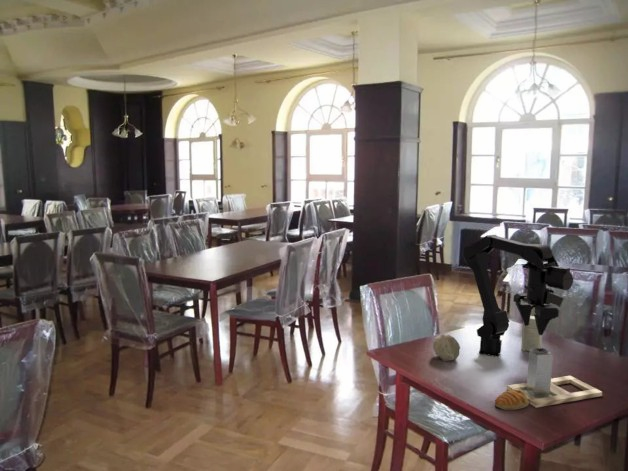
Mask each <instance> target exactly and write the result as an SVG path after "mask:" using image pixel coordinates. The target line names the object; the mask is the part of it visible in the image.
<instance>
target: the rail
mask: <svg viewBox="0 0 628 471" xmlns="http://www.w3.org/2000/svg"><path fill="white" fill-rule="evenodd" d="M565 384H571V385H573V386H574V387H577V388H579V389H580V391H574V392H570V391H567V390H565V389H564V388H562V387H560V386H561V385H565ZM526 388H527V381H526V382H521V383H514V384H507V385H506V391H512V390H514V389H516V390H521V391H523V392H524V393H525V394H526V397H527V399H528V401H529V405H531V406H533V407H535V408H542V407H546V406H552V405H559V404H564V403H569V402H575V401H580V400H582V401H583V400H585V399H592V398H598V397H603V391H601V390H600V389H598V388H596V387H593V386H592V385H590V384H588V383H586V382H583V381H582V380H580V379H578V378H576V377H574V376H572V375H565V376H560V377H553V378H552V377H551V385H550V397H545V398H535V397H533V396H531V395H530V394H529V393H528V392H527V391H526ZM581 390H582V391H581Z"/></svg>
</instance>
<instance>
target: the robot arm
mask: <svg viewBox="0 0 628 471" xmlns="http://www.w3.org/2000/svg"><path fill="white" fill-rule="evenodd" d="M494 249H496V250H500V251H502V252H503V251H504V252H505V253H510V254H512V255H513V254H514V255H517V256H519V257H521V259H522V260H524V261H526V263H524V264H523V265H522V268H523V269H528V273H527V284H525V285H524V289H526V292H525V293H524V292H522V293H521V292H520V293H519V292H515V294H514V295H513V302H514V303H515V306H516V308H517V311H518V312H519V314H520V317H521V319H522V323H523V322H524V325H525V326H528V325H529V321H530V316H532V315H531V314H532V310H533V309H534V313H535V314H533V316H534V317H535V321H536V325H537V330H538V334H539V335H542V336H543V334H544V333H545V331H546V328H547V327H548V324H549V323H550V321H552V320H553V319H556V318H559V317H560V309H559V308H560V307H561V306H562V303H563V302H564V299H565V298H564V297H563V296H561V295H558V294H556V293H555V292H554V290H553V288H554V289H559V290H564V291H569V290H570V289H571V288H572V286H573V283H574V277H573V274H572V273H571V268H569V267H560V265H559V263H558V262H557V260H556V258H555V256H554V255H553V251H552V249H551V247H550V245H548V244H542V243H541V244H540V243H524V242H521V241H517V240H513V239H509V238H506V237H501V236H498V235H497V234H489V235H485V236H484V237H483V238H481V239H480V240H477V241H476V242H474V243H471V245H467V246H465V248H464V249H463V251H462V257H463V258H464V261H465V264H466V265H467V266H468V267H469V268H470V270H471V271H472V273H473V276H474V280H475V283H476V287H477V290H478V293H479V296H480V297H479V298H480V300H481V303H482V307H483V312H482V326H480V327H479V328H477V329H476V334H477V337H480V341H479V342H480V346H479V351H478V353H479V354H481V355H487V356H491V357H499V355H500V354H501V352H502V344H503V343H502V340H501V337H502V336H504V335H505V333H506V332H507V330H508V329H509V327H510V320H509V317H508V313H507V311H506V310H502V309H501V308H500V307H499V305H498V302H497V298H496V295H495V291H494V287H493V285H492V281H491V277H490V275H489V271H488V263H489V254H490V253H491V252H492V251H493V250H494ZM552 304H553V305H552ZM554 305H556V306H557V307H556V306H554ZM558 307H559V308H558Z"/></svg>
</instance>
